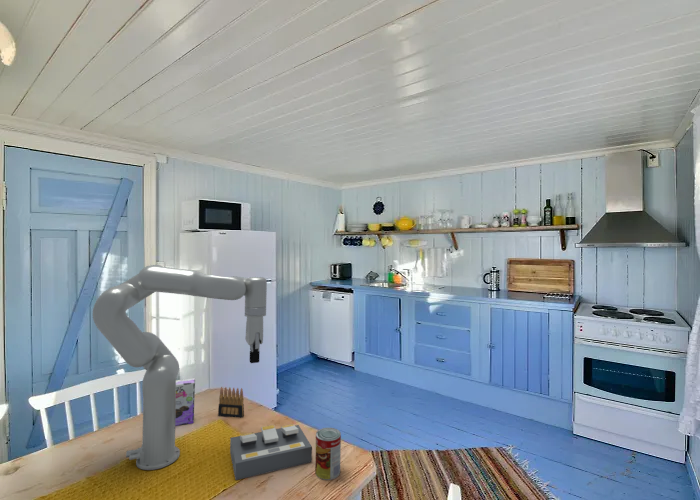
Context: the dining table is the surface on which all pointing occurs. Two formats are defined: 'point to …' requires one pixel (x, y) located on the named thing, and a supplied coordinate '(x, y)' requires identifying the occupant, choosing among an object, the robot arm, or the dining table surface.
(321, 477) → the canned food
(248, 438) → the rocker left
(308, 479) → the dining table surface
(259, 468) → the switch unit
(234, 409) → the ammunition clip
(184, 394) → the candy box
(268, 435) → the rocker middle
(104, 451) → the dining table surface
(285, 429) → the rocker right
